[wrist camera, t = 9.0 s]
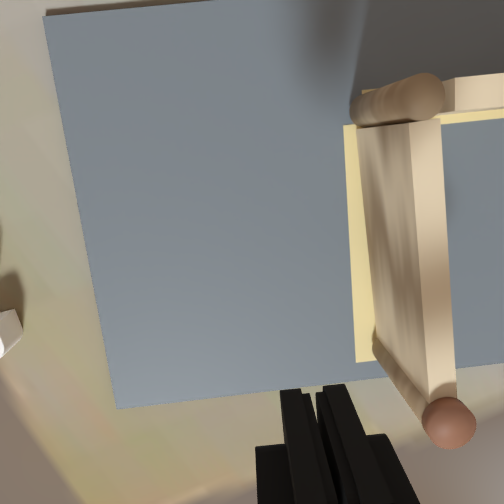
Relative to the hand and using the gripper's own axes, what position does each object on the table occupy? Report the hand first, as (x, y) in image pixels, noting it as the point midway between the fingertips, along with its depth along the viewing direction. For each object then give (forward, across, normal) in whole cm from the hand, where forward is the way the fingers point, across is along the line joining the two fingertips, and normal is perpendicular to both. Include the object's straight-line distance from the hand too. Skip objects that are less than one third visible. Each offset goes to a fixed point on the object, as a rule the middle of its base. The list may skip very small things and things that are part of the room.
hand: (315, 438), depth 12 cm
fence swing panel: (+11, -5, -2) cm, 12 cm away
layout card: (+11, -4, -4) cm, 13 cm away
